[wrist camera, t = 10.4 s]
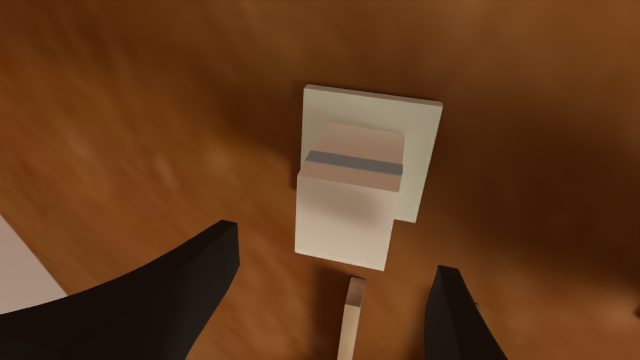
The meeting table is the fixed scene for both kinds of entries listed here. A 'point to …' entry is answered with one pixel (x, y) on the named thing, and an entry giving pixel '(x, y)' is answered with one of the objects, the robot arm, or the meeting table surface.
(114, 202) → the meeting table surface
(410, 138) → the stand tile
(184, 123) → the meeting table surface
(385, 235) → the block
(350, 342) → the shelf bay
